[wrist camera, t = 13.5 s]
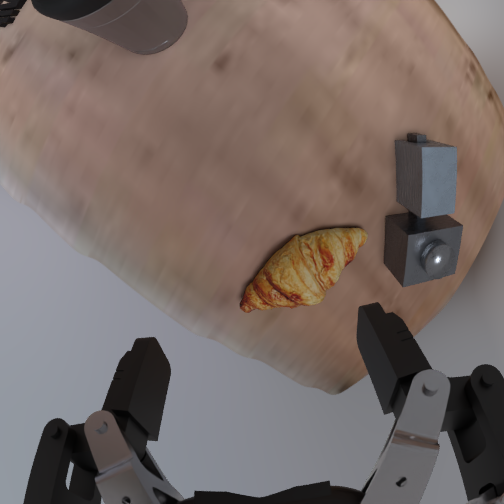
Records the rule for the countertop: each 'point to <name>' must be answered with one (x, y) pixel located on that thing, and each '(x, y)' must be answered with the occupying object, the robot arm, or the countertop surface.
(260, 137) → the countertop surface
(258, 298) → the croissant
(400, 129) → the countertop surface
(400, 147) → the notched metal block
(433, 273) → the grey knobbed block
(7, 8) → the sun
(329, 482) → the robot arm
